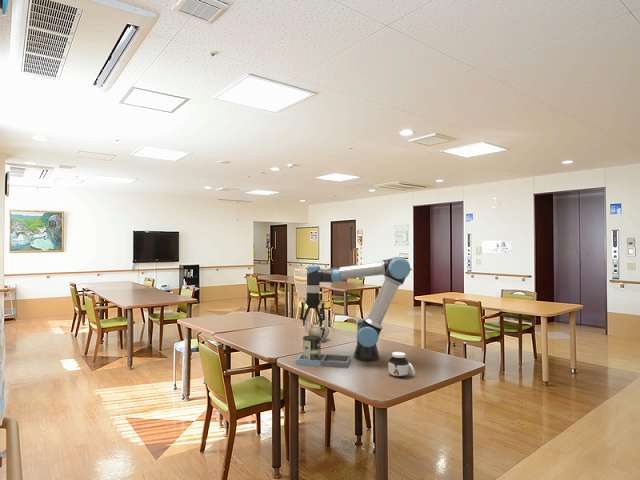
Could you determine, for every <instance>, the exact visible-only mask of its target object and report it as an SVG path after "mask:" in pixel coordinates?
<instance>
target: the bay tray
mask: <svg viewBox="0 0 640 480" xmlns="http://www.w3.org/2000/svg"><path fill="white" fill-rule="evenodd" d="M351 358H352V357H351V355H342V354H330V353H329V354H326V353H320V361H319V360H306V359H303V352H301V353H300V355H299V356H298V357H297V358H296V359H295V365H300V366H311V367H313V366H314V367H316V366H317V367H328V368H340V369H348V368H349V365H350V363H351V361H352V360H351Z"/></svg>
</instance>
